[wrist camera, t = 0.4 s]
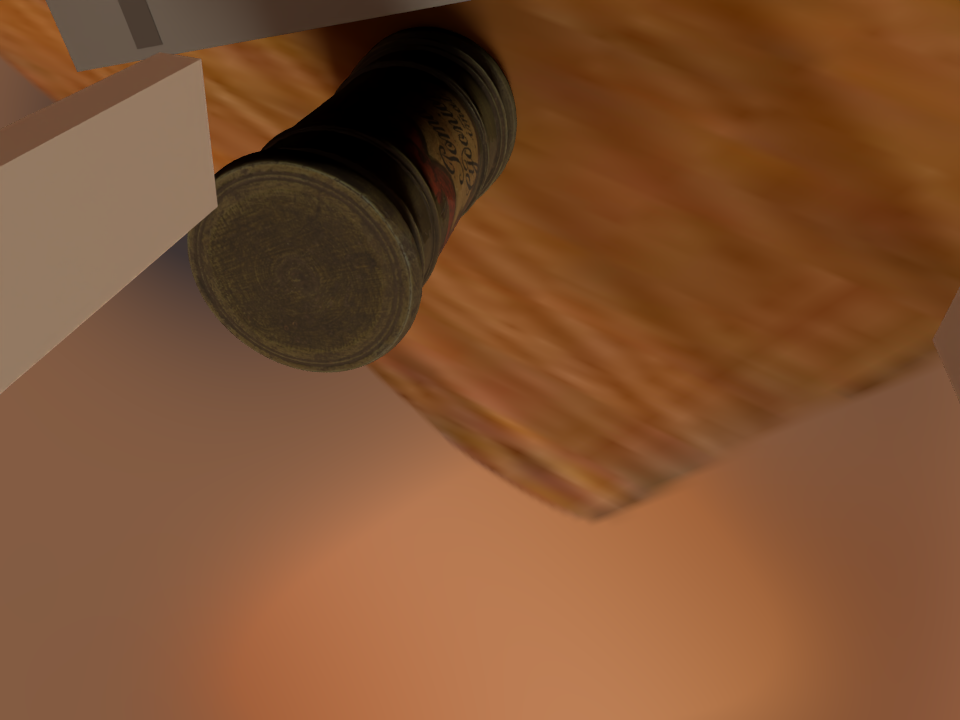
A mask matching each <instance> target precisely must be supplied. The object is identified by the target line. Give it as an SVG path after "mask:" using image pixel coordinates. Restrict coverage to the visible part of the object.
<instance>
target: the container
mask: <svg viewBox="0 0 960 720" xmlns="http://www.w3.org/2000/svg"><path fill="white" fill-rule="evenodd" d="M516 127H517V118H516V108H515V102H514V98H513V94H512V91H511V88H510V86H509V83H508V81H507V79H506V77H505V75H504V74H503V72H502V70H501V69H500V67H499V66H498V64H497V63H496V62H495V60H494V59H493V58H492V57H491V56H490V55H489V54H488V53H487V52H486V51H485V50H484V49H483V48H482V47H480V46H479V45H478V44H476V43H475V42H473V41H472V40H470V39H468V38H467V37H465V36H462V35H460V34H458V33H455V32H453V31H449V30H445V29H441V28H435V27H417V28H410V29H406V30H402V31H399V32H396V33H394V34H392V35H390V36H388V37H386V38H385V39H383V40H382V41H381V42H379V43H378V44H377V45H376V46H375V47H373V48H372V49H371V50H370V51H369V53H368V54H367V55H366V56H365V57H364V58H363V59H362V60H361V61H360V62H359V63H358V65H357V66H356V67H355V69H354V70H353V71H352V73H351V75H350V76H349V77H348V78H347V79H346V80H345V81H344V82H343V83H342V84H341V85H340V87H339V88H338V89H337V91H336V92H335V94H334V95H333V96H332V97H331V98H330V99H328V100H327V101H326V102H324V103H323V104H322V105H321V106H319V107H318V108H317V109H315V110H314V111H313V112H311V113H310V114H309V115H307V116H306V117H305V118H303V119H302V120H301V121H300V122H298V123H297V124H296V125H295V126H293V127H292V128H289V129H287V130H285V131H283V132H281V133H280V134H278V135H277V136H275V137H274V138H273V139H272V140H270V141H269V142H268V143H267V144H266V145H265V146H264V147H263V148H262V150H261V151H259V152H255V153H251V154H248V155H246V156H243V157H241V158H239V159H236V160H234V161H233V162H231V163H229V164H228V165H226V166H225V167H223V168H222V169H221V170H219V171H218V172H217V173H216V174H215V175H214V178H215V187H216V196H217V204H218V207H217V208H215V209H214V210H213V211H212V212H211V213H210V214H208V215H207V216H206V217H205V218H204V219H203V220H201V221H200V222H199V223H198V224H197V225H196V226H195V227H193V228H192V229H191V230H190V231H189V232H188V238H187V239H188V240H187V242H188V256H189V261H190V266H191V270H192V274H193V277H194V279H195V282H196V284H197V287H198V289H199V291H200V293H201V295H202V297H203V299H204V300H205V302H206V303H207V305H208V306H209V308H210V309H211V311H212V312H213V313H214V315H215V316H216V317H217V318H218V319H219V321H220V322H221V323H222V324H223V325H224V326H225V327H226V328H227V329H228V330H229V331H230V332H231V333H232V334H233V335H235V336H236V337H237V338H238V339H239V340H241V341H242V342H243V343H244V344H246V345H247V346H249V347H250V348H252V349H253V350H255V351H256V352H258V353H260V354H262V355H264V356H265V357H267V358H269V359H271V360H274V361H276V362H278V363H281V364H284V365H287V366H290V367H293V368H296V369H301V370H306V371H312V372H340V371H347V370H352V369H355V368H359V367H362V366H364V365H367V364H369V363H371V362H373V361H375V360H377V359H379V358H380V357H382V356H383V355H385V354H386V353H388V352H389V351H390V350H391V349H393V348H394V347H395V346H396V345H397V344H398V343H399V342H400V341H401V340H402V338H403V337H404V336H405V335H406V333H407V332H408V330H409V329H410V327H411V325H412V324H413V322H414V319H415V317H416V314H417V312H418V309H419V305H420V301H421V296H422V287H423V286H424V284H425V283H426V282H427V280H428V279H429V277H430V275H431V273H432V271H433V269H434V267H435V264H436V262H437V258H438V256H439V255H440V253H441V251H442V249H443V248H444V246H445V244H446V243H447V241H448V239H449V237H450V235H451V233H452V232H453V230H454V228H455V226H456V225H457V223H458V221H459V219H460V218H461V216H463V215H464V214H465V213H466V212H467V211H468V210H469V209H470V207H471V206H472V205H473V204H474V202H475V201H476V200H477V199H478V198H479V197H480V196H482V195H483V194H484V193H485V192H486V191H487V190H488V188H489V187H490V186H491V185H492V184H493V183H494V182H495V180H496V179H497V178H498V177H499V175H500V174H501V173H502V171H503V170H504V168H505V166H506V164H507V162H508V160H509V158H510V156H511V153H512V150H513V147H514V143H515V137H516Z"/></svg>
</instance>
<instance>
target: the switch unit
mask: <svg viewBox="0 0 960 720" xmlns="http://www.w3.org/2000/svg"><path fill="white" fill-rule="evenodd" d="M464 1H469V0H46V2H47V4H48V7H49V9H50V11H51V13H52V15H53V18H54V20H55V22H56V24H57V27H58V29H59V31H60V33H61V36H62V38H63V40H64V42H65V45H66V47H67V49H68V51H69V54H70V56H71V58H72V60H73V63H74V65H75V67H76V69H77V72H79V71H84V70H90V69H95V68H101V67H106V66H112V65H117V64H123V63H128V62H134V61H139V60H145V59H147V58H149V57H151V56H153V55H155V54H157V53H159V52H162V53H168V54H178V53H183V52H189V51H194V50H200V49H205V48H211V47H216V46H222V45H227V44H233V43H238V42H244V41H249V40H255V39H260V38H266V37H271V36H277V35H282V34H288V33H293V32H299V31H304V30H310V29H315V28H321V27H326V26H332V25H337V24H343V23H348V22H354V21H359V20H365V19H370V18H376V17H381V16H387V15H392V14H398V13H403V12H409V11H414V10H420V9H425V8H431V7H436V6H442V5H447V4H453V3H458V2H464Z"/></svg>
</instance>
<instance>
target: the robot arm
mask: <svg viewBox="0 0 960 720" xmlns="http://www.w3.org/2000/svg"><path fill="white" fill-rule="evenodd" d="M217 207H218V204H217V196H216V187H215V178H214V169H213V160H212V151H211V142H210V133H209V125H208V116H207V107H206V98H205V89H204V80H203V71H202V62H201V59H198V58H192V57H186V56H180V55H174V54H168V53H162V52H159V53H157V54H155V55H153V56H151V57H149V58H147V59H145V60H143V61H140V62H138V63H136V64H134V65H132V66H130V67H128V68H126V69H124V70H122V71H120V72H118V73H116V74H113V75H111V76H109V77H107V78H105V79H103V80H101V81H99V82H97V83H95V84H93V85H91V86H89V87H86V88H84V89H82V90H80V91H78V92H76V93H74V94H72V95H70V96H68V97H66V98H64V99H62V100H60V101H57V102H55V103H53V104H51V105H49V106H47V107H45V108H43V109H41V110H39V111H37V112H35V113H33V114H30V115H28V116H26V117H24V118H22V119H20V120H18V121H16V122H14V123H12V124H10V125H8V126H6V127H3V128H1V129H0V394H1V393H2V392H3V391H4V390H5V389H7V388H8V387H9V386H10V385H11V384H12V383H14V382H15V381H16V380H17V379H18V378H19V377H21V375H23V374H24V373H25V372H26V371H28V370H29V369H30V368H31V367H32V366H33V365H34V364H35V363H37V362H38V361H39V360H40V359H41V358H42V357H44V356H45V355H46V354H47V353H48V352H50V351H51V350H52V349H53V348H54V347H55V346H56V345H58V344H59V343H60V342H61V341H62V340H63V339H64V338H66V337H67V336H68V335H69V334H70V333H72V332H73V331H74V330H75V329H76V328H77V327H78V326H80V325H81V324H82V323H83V322H84V321H85V320H87V319H88V318H89V317H90V316H91V315H92V314H93V313H95V312H96V311H97V310H98V309H99V308H101V307H102V306H103V305H104V304H105V303H106V302H107V301H109V300H110V299H111V298H112V297H113V296H114V295H116V294H117V293H118V292H119V291H120V290H121V289H123V288H124V287H125V286H126V285H127V284H128V283H130V282H131V281H132V280H133V279H134V278H135V277H137V276H138V275H139V274H140V273H141V272H142V271H143V270H144V269H146V268H147V267H148V266H149V265H150V264H152V263H153V262H154V261H155V260H156V259H157V258H159V257H160V256H161V255H162V254H163V253H164V252H166V251H167V250H168V249H169V248H170V247H171V246H173V245H174V244H175V243H176V242H177V241H178V240H179V239H181V238H182V237H183V236H184V235H185V234H186V233H188V232H189V231H190V230H191V229H192V228H193V227H195V226H196V225H197V224H198V223H199V222H200V221H201V220H203V219H204V218H205V217H206V216H207V215H208V214H210V213H211V212H212V211H213V210H214V209H215V208H217ZM933 342H934V344H935V347H936V349H937V351H938V354H939V356H940V358H941V361H942V363H943V365H944V368H945V370H946V372H947V375H948V377H949V379H950V381H951V384H952V386H953V388H954V391H955V393H956V395H957V398H958V400H959V402H960V288H959V290H958V292H957V294H956V296H955V298H954V300H953V301H952V303H951V305H950V307H949V309H948V311H947V313H946V315H945V317H944V319H943V321H942V323H941V325H940V327H939V329H938V331H937V333H936V335H935V336H934V338H933Z"/></svg>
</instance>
